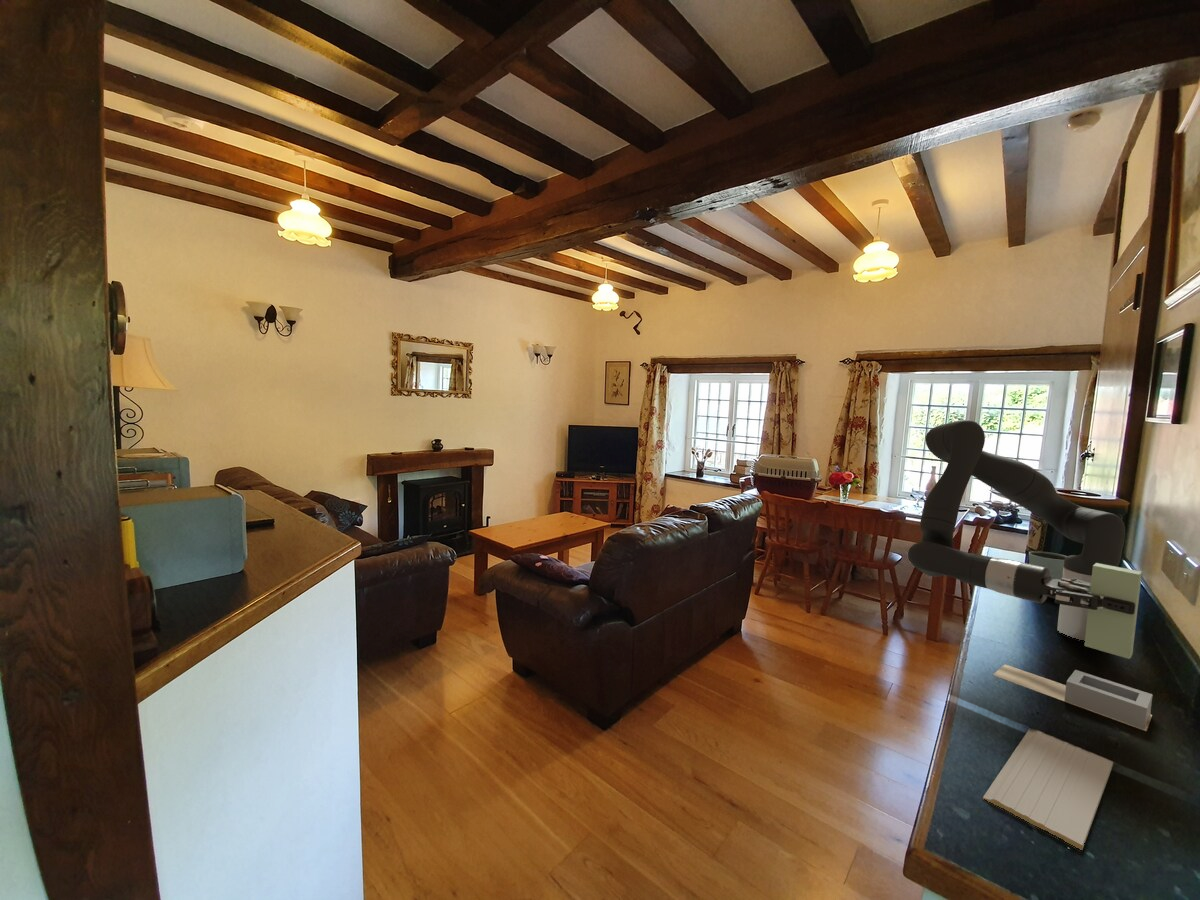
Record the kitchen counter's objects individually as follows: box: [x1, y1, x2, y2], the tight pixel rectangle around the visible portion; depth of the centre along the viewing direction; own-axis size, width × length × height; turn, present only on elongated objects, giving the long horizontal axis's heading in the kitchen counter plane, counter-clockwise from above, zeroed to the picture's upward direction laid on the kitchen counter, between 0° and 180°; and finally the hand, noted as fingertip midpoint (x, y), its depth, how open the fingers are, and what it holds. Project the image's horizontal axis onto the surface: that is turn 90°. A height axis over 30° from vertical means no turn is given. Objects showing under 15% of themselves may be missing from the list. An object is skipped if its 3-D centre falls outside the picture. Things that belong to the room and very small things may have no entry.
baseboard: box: [982, 711, 1119, 851], centre depth 77 cm, size 31×3×12 cm
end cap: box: [1064, 669, 1154, 731], centre depth 93 cm, size 8×10×4 cm
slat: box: [1084, 563, 1143, 660], centre depth 92 cm, size 3×6×16 cm, turn 36°
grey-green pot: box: [1028, 550, 1067, 580], centre depth 158 cm, size 10×10×12 cm
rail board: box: [992, 663, 1153, 732], centre depth 97 cm, size 8×22×1 cm, turn 36°
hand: (1135, 606), depth 89 cm, fingers closed on slat, 3 cm apart
